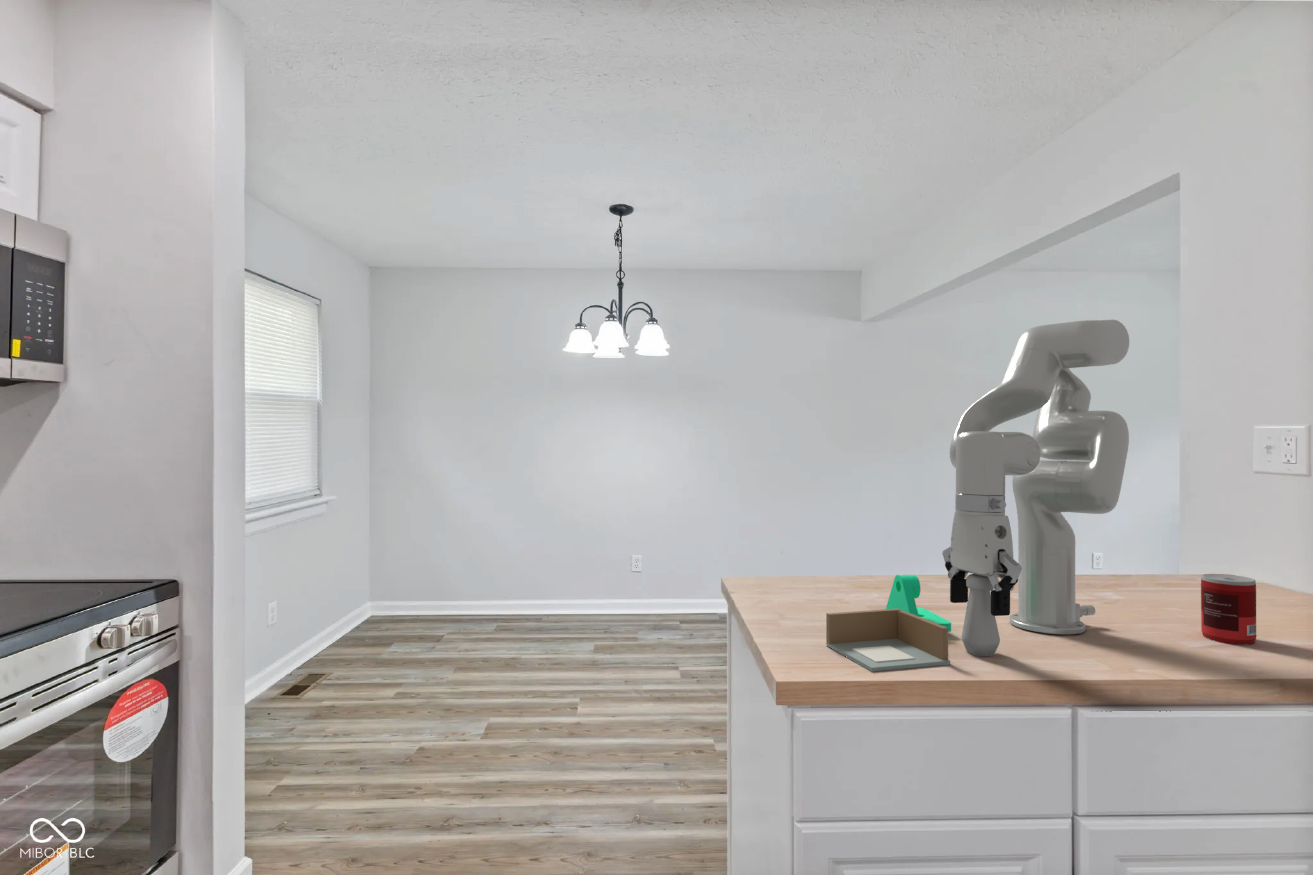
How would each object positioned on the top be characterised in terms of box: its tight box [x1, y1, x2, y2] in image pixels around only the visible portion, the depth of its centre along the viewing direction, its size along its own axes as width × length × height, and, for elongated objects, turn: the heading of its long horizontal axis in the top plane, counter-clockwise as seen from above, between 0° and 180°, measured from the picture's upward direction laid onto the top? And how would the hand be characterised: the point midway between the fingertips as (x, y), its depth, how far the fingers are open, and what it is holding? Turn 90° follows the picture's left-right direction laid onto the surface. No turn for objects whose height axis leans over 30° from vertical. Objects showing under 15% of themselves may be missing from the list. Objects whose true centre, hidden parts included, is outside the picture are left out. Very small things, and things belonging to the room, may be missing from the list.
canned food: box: [1200, 573, 1257, 645], centre depth 125 cm, size 8×8×11 cm
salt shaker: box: [961, 573, 1001, 657], centre depth 116 cm, size 6×6×13 cm
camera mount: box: [885, 574, 952, 633], centre depth 131 cm, size 12×8×10 cm, turn 4°
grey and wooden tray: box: [825, 608, 951, 672], centre depth 115 cm, size 14×14×6 cm
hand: (978, 608), depth 116 cm, fingers open, 9 cm apart
